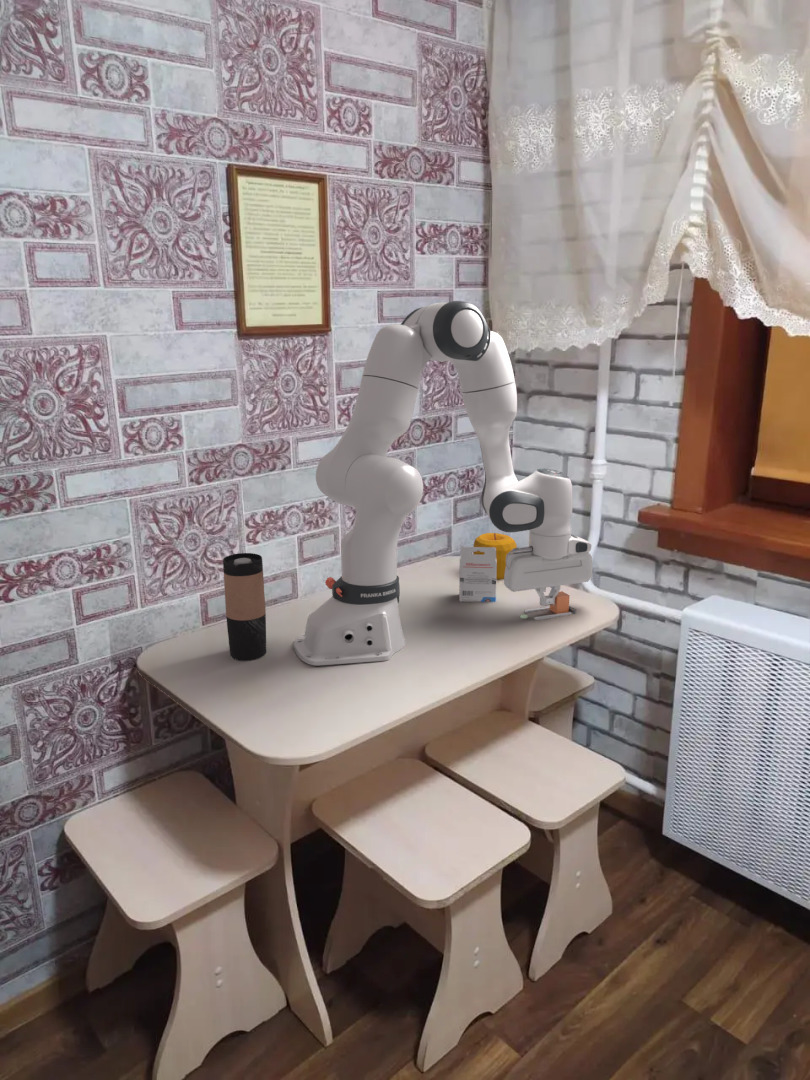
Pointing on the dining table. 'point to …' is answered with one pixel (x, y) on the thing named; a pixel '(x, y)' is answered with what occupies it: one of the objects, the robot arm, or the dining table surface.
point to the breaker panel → (571, 611)
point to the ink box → (477, 575)
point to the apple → (502, 549)
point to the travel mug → (245, 606)
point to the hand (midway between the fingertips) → (547, 604)
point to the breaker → (560, 603)
